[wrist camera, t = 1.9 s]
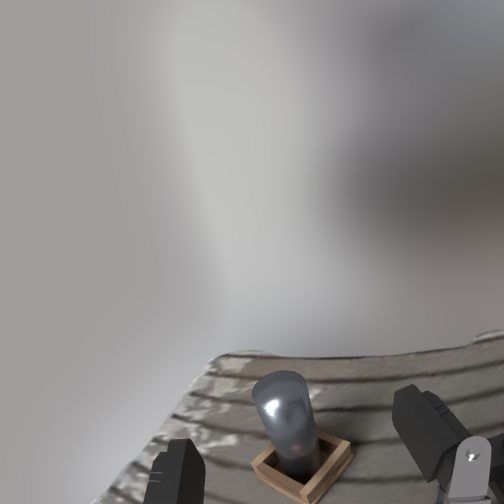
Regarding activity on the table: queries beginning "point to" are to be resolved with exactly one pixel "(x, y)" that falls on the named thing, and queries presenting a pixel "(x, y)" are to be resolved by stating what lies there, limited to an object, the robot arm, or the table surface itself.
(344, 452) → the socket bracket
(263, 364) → the table surface
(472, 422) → the table surface
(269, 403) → the rod
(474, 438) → the robot arm
